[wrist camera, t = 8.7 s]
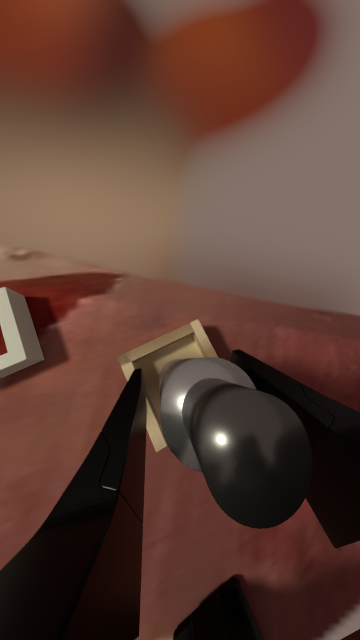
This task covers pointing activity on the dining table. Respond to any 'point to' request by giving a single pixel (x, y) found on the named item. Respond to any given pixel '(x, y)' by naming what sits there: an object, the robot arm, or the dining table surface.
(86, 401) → the dining table surface
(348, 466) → the robot arm
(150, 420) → the beige square tray
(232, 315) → the dining table surface
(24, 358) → the socket block
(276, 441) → the silver and grey cylinder
